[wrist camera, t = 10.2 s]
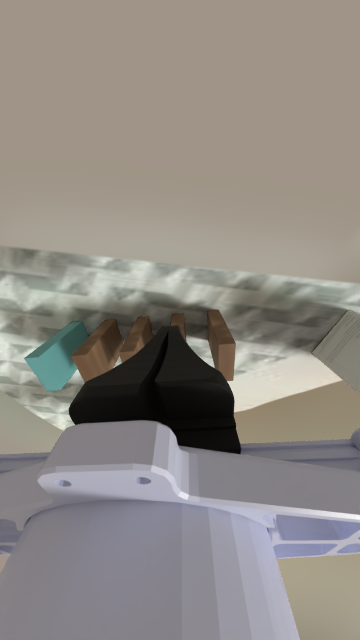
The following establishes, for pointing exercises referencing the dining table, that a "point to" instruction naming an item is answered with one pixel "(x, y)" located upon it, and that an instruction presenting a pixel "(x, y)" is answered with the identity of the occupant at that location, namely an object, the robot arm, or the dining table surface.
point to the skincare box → (343, 349)
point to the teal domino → (57, 356)
